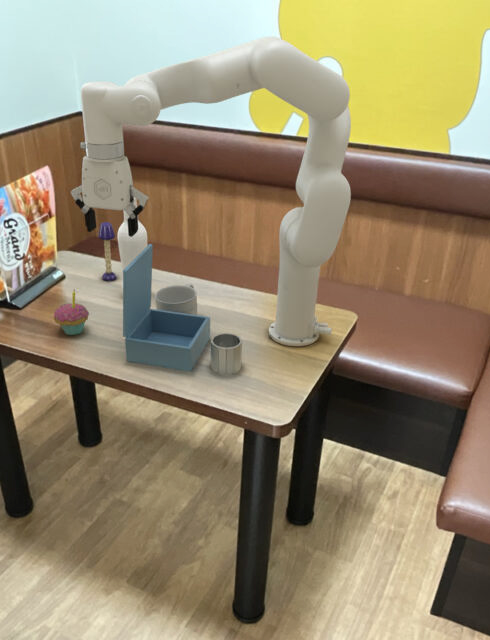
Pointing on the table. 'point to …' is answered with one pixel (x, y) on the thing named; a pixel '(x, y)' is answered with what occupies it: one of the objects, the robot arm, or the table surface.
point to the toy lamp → (107, 249)
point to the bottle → (130, 242)
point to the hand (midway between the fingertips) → (112, 232)
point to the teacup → (177, 299)
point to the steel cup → (226, 353)
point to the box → (168, 339)
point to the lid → (137, 289)
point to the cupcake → (71, 317)
